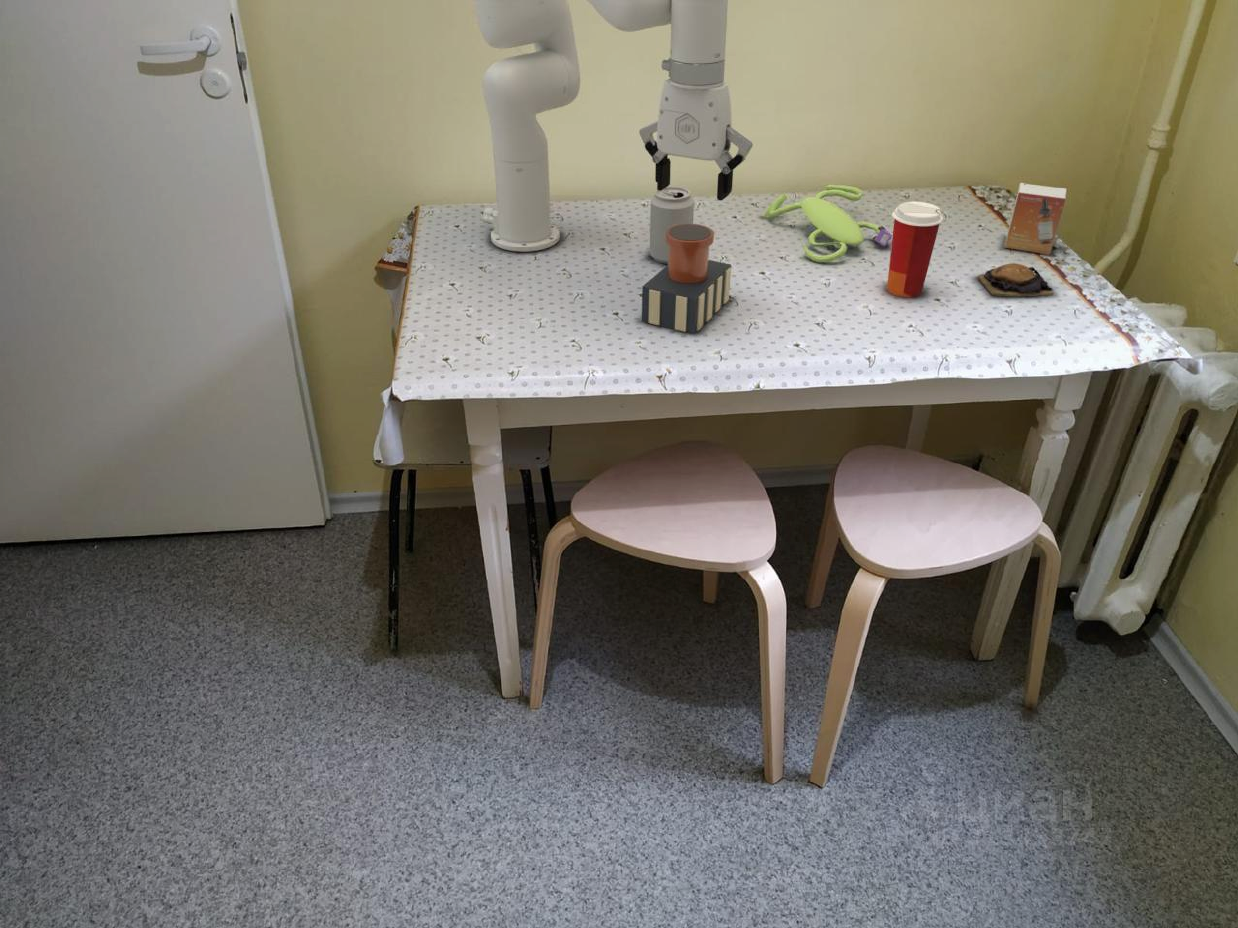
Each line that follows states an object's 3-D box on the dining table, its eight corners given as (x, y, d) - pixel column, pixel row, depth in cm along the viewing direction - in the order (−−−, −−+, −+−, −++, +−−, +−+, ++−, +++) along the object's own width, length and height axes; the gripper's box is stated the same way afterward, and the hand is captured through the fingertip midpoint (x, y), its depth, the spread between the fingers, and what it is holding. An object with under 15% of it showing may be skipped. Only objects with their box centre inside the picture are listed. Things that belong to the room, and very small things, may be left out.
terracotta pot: (656, 279, 154) (657, 236, 150) (676, 262, 159) (677, 219, 155) (700, 288, 151) (702, 245, 147) (718, 271, 156) (721, 228, 152)
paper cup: (930, 284, 166) (946, 203, 158) (926, 303, 161) (942, 220, 152) (882, 277, 169) (896, 197, 160) (877, 296, 163) (890, 214, 155)
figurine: (846, 204, 197) (849, 176, 194) (909, 257, 176) (914, 227, 172) (758, 212, 193) (760, 184, 190) (812, 267, 172) (815, 236, 169)
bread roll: (992, 299, 162) (997, 278, 160) (974, 277, 169) (979, 256, 167) (1055, 297, 163) (1061, 276, 160) (1035, 275, 169) (1041, 255, 167)
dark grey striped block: (640, 322, 155) (641, 287, 151) (678, 287, 165) (680, 253, 162) (695, 335, 151) (696, 299, 148) (730, 299, 162) (733, 264, 158)
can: (688, 267, 172) (691, 200, 165) (645, 264, 173) (647, 197, 166) (694, 250, 178) (697, 185, 171) (653, 247, 179) (654, 182, 172)
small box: (1003, 248, 179) (1017, 192, 173) (1006, 237, 183) (1019, 181, 177) (1050, 255, 176) (1066, 198, 170) (1052, 244, 181) (1067, 187, 174)
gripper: (629, 71, 138) (629, 191, 148) (745, 85, 131) (737, 210, 141) (652, 60, 144) (651, 177, 153) (765, 72, 137) (756, 193, 147)
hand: (693, 192), depth 147 cm, fingers open, 9 cm apart
